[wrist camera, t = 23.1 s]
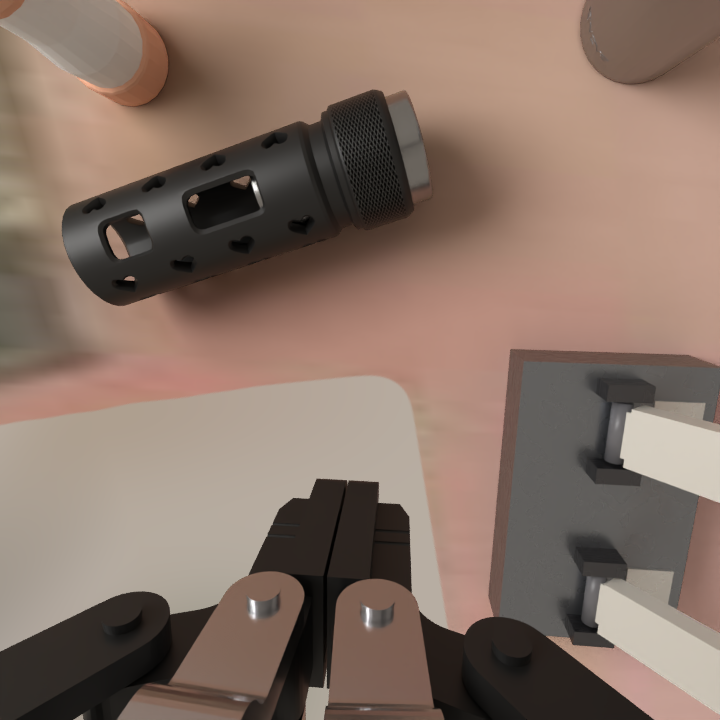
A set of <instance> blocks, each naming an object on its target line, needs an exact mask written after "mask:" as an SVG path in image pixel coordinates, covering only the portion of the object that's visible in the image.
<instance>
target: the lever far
mask: <svg viewBox="0 0 720 720" xmlns="http://www.w3.org/2000/svg"><path fill="white" fill-rule="evenodd" d="M581 620H582V622H583V623H584V624H585V625H587V626H589V627H593V628H597V627H598V632H597V633H598V634H599V635H601V636H602V637H604V638H605V639H607V640H608V641H610V642H611V643H613V644H614V645H616V646H617V647H619V648H620V649H622V650H623V651H625V652H626V653H628V654H629V655H631V656H632V657H634V658H635V659H637V660H638V661H640V662H641V663H643V664H644V665H646V666H647V667H649V668H650V669H652V670H653V671H655V672H656V673H658V674H659V675H660V676H662V677H663V678H665V679H666V680H668V681H669V682H671V683H672V684H674V685H675V686H677V687H678V688H680V689H681V690H683V691H684V692H686V693H687V694H689V695H690V696H692V697H693V698H695V699H696V700H698V701H699V702H701V703H702V704H704V705H705V706H707V707H708V708H710V709H711V710H713V711H714V712H716V713H717V714H719V715H720V633H719V632H717V631H715V630H713V629H712V628H710V627H708V626H706V625H704V624H702V623H701V622H699V621H697V620H695V619H693V618H692V617H690V616H688V615H686V614H684V613H683V612H681V611H679V610H677V609H675V608H674V607H672V606H670V605H668V604H666V603H664V602H663V601H661V600H659V599H657V598H655V597H654V596H652V595H650V594H648V593H646V592H645V591H643V590H641V589H639V588H637V587H635V586H634V585H632V584H630V583H628V582H626V581H625V580H623V579H621V578H613V579H612V580H610V581H608V580H607V577H592V576H587V579H586V586H585V593H584V600H583V607H582V615H581Z"/></svg>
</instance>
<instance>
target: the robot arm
mask: <svg viewBox="0 0 720 720" xmlns="http://www.w3.org/2000/svg"><path fill="white" fill-rule="evenodd" d="M580 26H581V41H582V45H583V49H584V51H585V54H586V56H587V58H588V60H589V61H590V63H591V64H592V65H593V67H594V68H595V69H596V70H597V71H598V72H600V73H601V74H602V75H603V76H605V77H607V78H609V79H611V80H613V81H616V82H621V83H626V84H633V83H642V82H646V81H650V80H653V79H655V78H657V77H659V76H661V75H663V74H665V73H666V72H668V71H669V70H671V69H672V68H674V67H675V66H677V65H678V64H680V63H681V62H683V61H684V60H686V59H687V58H689V57H690V56H692V55H693V54H695V53H696V52H698V51H699V50H701V49H702V48H704V47H705V46H707V45H708V44H710V43H711V42H713V41H714V40H716V39H717V38H719V37H720V0H586V3H585V5H584V8H583V12H582V17H581V22H580ZM378 498H379V482H367V481H349V482H348V486H347V480H332V479H331V480H330V479H317V480H316V482H315V485H314V487H313V490H312V493H311V495H310V498H309V499H301V498H293V499H292V500H290V501H289V502H288V503H286V504H285V505H284V506H283V507H282V508H280V509H279V511H278V513H277V515H276V517H275V519H274V522H273V525H272V526H271V528H270V531H269V532H268V536H267V537H266V539H265V541H264V543H263V545H262V547H261V549H260V551H259V554H258V556H257V558H256V560H255V562H254V564H253V566H252V569H251V571H250V573H249V575H248V576H246V577H244V578H242V579H240V580H238V581H237V582H235V583H234V584H233V585H232V586H231V587H230V588H229V589H228V590H227V591H226V593H225V594H224V596H223V598H222V599H221V601H220V602H219V604H217V605H214V606H211V607H208V608H205V609H200V610H195V611H189V612H183V613H177V614H171V615H170V608H169V605H168V603H167V601H166V600H165V599H164V598H163V597H162V596H159V595H158V594H155V593H151V592H130V593H126V594H121V595H118V596H115V597H113V598H110V599H108V600H106V601H104V602H102V603H100V604H98V605H95V606H94V607H91V608H89V609H87V610H85V611H83V612H81V613H79V614H77V615H75V616H73V617H71V618H69V619H67V620H65V621H62V622H60V623H58V624H56V625H54V626H52V627H50V628H48V629H46V630H44V631H42V632H40V633H38V634H36V635H34V636H32V637H30V638H27V639H25V640H23V641H21V642H19V643H17V644H15V645H13V646H11V647H9V648H7V649H5V650H3V651H1V652H0V720H73V719H75V718H77V717H78V716H80V715H81V714H83V719H84V720H306V712H305V711H306V708H305V707H306V705H305V704H306V698H307V693H308V688H309V687H319V688H323V687H324V681H325V676H326V670H327V688H328V689H330V690H329V701H328V706H326V709H325V715H324V720H654V719H652V718H651V717H650V716H649V715H647V714H646V713H645V712H643V711H642V710H641V709H639V708H638V707H637V706H636V705H634V704H633V703H632V702H630V701H629V700H628V699H626V698H625V697H624V696H623V695H621V694H620V693H619V692H617V691H616V690H615V689H613V688H612V687H611V686H610V685H608V684H607V683H606V682H604V681H603V680H602V679H600V678H599V677H598V676H597V675H595V674H594V673H593V672H591V671H590V670H589V669H588V668H586V667H585V666H584V665H582V664H581V663H580V662H578V661H577V660H576V659H575V658H573V657H572V656H571V655H569V654H568V653H567V652H565V651H564V650H563V649H562V648H560V647H559V646H558V645H556V644H555V643H554V642H552V641H551V640H550V639H549V638H547V637H546V636H545V635H543V634H542V633H541V632H539V631H538V630H536V629H535V628H534V627H532V626H530V625H528V624H526V623H524V622H521V621H519V620H515V619H511V618H506V617H489V618H485V619H481V620H479V621H477V622H475V623H474V624H473V625H471V627H470V628H469V629H468V630H467V632H466V634H465V635H463V634H460V633H457V632H454V631H451V630H448V629H446V628H443V627H440V626H439V625H437V624H435V623H433V622H431V621H430V620H429V619H427V618H426V617H425V616H424V615H423V614H422V613H421V612H420V611H419V607H418V604H417V601H416V599H415V597H414V596H413V595H412V589H411V561H410V560H411V557H410V530H409V529H410V527H409V516H408V515H407V513H406V512H405V511H404V509H403V508H402V507H401V505H400V504H386V503H378Z"/></svg>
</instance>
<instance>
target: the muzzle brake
mask: <svg viewBox="0 0 720 720" xmlns="http://www.w3.org/2000/svg"><path fill="white" fill-rule="evenodd" d="M244 176H250V180H249V182H248V183H247V186H243V185H241V184H238V183H235V182H233V180H236V179H239V178H241V177H244ZM194 194H197V195H198V196H199V197H198V199H197V201H196V204H193V203H191V202H188V200H189V198H190V197H191V196H193V195H194ZM432 196H433V188H432V180H431V174H430V169H429V164H428V159H427V155H426V151H425V146H424V142H423V138H422V134H421V131H420V127H419V124H418V120H417V117H416V114H415V111H414V108H413V105H412V102H411V99H410V97H409V95H408V94H407V92H406V91H400V92H398V93H395V94H392V95H389V96H387V97H384V94H383V92H382V91H378V90H370V91H367V92H365V93H362V94H359V95H357V96H354V97H351V98H349V99H346V100H343V101H340V102H338V103H335V104H332V105H330V106H328V108H327V111H324V112H322V114H321V121H319V122H317V123H314V124H311V125H308V124H306V123H304V122H300V121H299V122H296V123H293V124H290V125H288V126H285V127H282V128H280V129H277V130H274V131H271V132H269V133H266V134H263V135H261V136H258V137H255V138H252V139H250V140H247V141H244V142H242V143H239V144H236V145H233V146H231V147H228V148H225V149H223V150H220V151H217V152H214V153H212V154H209V155H206V156H204V157H201V158H198V159H195V160H193V161H190V162H187V163H185V164H182V165H179V166H176V167H174V168H171V169H168V170H166V171H163V172H160V173H157V174H155V175H152V176H149V177H147V178H144V179H141V180H138V181H136V182H133V183H130V184H128V185H125V186H122V187H119V188H117V189H114V190H111V191H108V192H106V193H103V194H100V195H98V196H95V197H92V198H89V199H87V200H84V201H81V202H79V203H76V204H73V205H71V206H70V207H68V208H67V209H66V211H65V213H64V215H63V220H62V237H63V242H64V246H65V249H66V252H67V255H68V257H69V259H70V261H71V263H72V265H73V267H74V269H75V271H76V272H77V274H78V275H79V277H80V278H81V280H82V281H83V282H84V283H85V285H86V286H87V287H88V288H89V289H90V290H91V291H92V292H93V293H94V294H96V295H97V296H98V297H100V298H101V299H102V300H104V301H106V302H108V303H110V304H113V305H117V306H125V305H128V304H131V303H134V302H137V301H140V300H143V299H146V298H149V297H152V296H155V295H157V294H161V293H164V292H168V291H171V290H174V289H177V288H180V287H183V286H186V285H189V284H192V283H195V282H198V281H201V280H204V279H207V278H209V277H213V276H216V275H219V274H222V273H226V272H229V271H232V270H235V269H238V268H241V267H244V266H247V265H250V264H253V263H256V262H259V261H261V260H263V259H268V258H271V257H274V256H277V255H281V254H284V253H287V252H290V251H293V250H296V249H299V248H302V247H305V246H308V245H311V244H313V243H315V242H320V241H323V240H326V239H329V238H332V237H335V236H337V235H338V234H340V232H341V229H342V228H343V227H346V226H349V225H352V224H354V225H355V226H356V227H357V228H358V229H361V228H364V229H365V230H369V229H372V228H375V227H378V226H381V225H384V224H387V223H390V222H393V221H396V220H399V219H402V218H406V217H408V216H409V215H410V214H411V213H412V212H413V211H414V204H417V203H420V202H423V201H426V200H429V199H431V198H432ZM138 214H140V215H141V216H142V218H143V220H144V222H143V221H140V220H136V219H133V218H131V217H132V216H135V215H138ZM109 225H111V226H112V227H113V229H114V230H115V231H116V232H117V234H118V235H119V237H120V238H121V240H122V242H123V243H124V245H125V247H126V250H127V252H128V255H129V258H126V259H121V260H120V259H118V258H117V257H116V256H115V255H114V253H113V251H112V249H111V247H110V244H109V241H108V238H107V235H106V229H107V228H108V226H109ZM128 276H133V277H135V281H127V280H124V279H125V278H126V277H128Z"/></svg>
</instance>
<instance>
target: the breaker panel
mask: <svg viewBox="0 0 720 720" xmlns="http://www.w3.org/2000/svg"><path fill="white" fill-rule="evenodd" d="M719 389H720V367H719V366H716V365H714V364H711V363H708V362H705V361H703V360H700V359H697V358H695V357H692V356H689V355H669V354H638V353H608V352H577V351H546V350H515V349H511V350H510V361H509V372H508V383H507V394H506V406H505V417H504V428H503V439H502V450H501V461H500V473H499V484H498V495H497V506H496V517H495V529H494V540H493V551H492V562H491V573H490V584H489V600H490V604H491V608H492V612H493V616H494V617H506V618H511V619H515V620H519V621H521V622H524V623H526V624H528V625H530V626H532V627H534V628H535V629H536V630H538V631H539V632H541V633H542V634H543V635H545V636H557V637H570V640H571V642H572V644H573V645H581V646H594V647H607V648H614V644H613V643H611V642H610V641H608V640H607V639H605V638H604V637H602V636H601V635H599V634H598V633H597V632H598V627H597V628H593V627H589V626H587V625H585V624H584V623H583V622H582V620H581V615H582V607H583V600H584V593H585V586H586V579H587V576H592V577H607V580H608V581H610V580H612V579H613V578H621V579H623V580H625V581H626V582H628V583H630V584H632V585H634V586H635V587H637V588H639V589H641V590H643V591H645V592H646V593H648V594H650V595H652V596H654V597H655V598H657V599H659V600H661V601H663V602H664V603H666V604H668V605H670V606H672V607H674V608H675V609H677V606H678V601H679V596H680V591H681V586H682V581H683V575H684V570H685V565H686V560H687V555H688V550H689V544H690V539H691V534H692V529H693V524H694V519H695V513H696V508H697V503H698V498H699V495H697V494H694V493H691V492H688V491H686V490H683V489H680V488H678V487H675V486H672V485H669V484H667V483H664V482H661V481H658V480H656V479H653V478H650V477H648V476H645V475H642V474H639V473H637V472H634V471H631V470H628V469H626V468H623V464H622V465H617V464H612V463H609V462H607V461H605V460H604V455H605V448H606V441H607V434H608V427H609V420H610V413H611V406H612V402H626V403H634V408H637V407H640V406H643V405H646V406H650V407H654V408H657V409H661V410H665V411H669V412H673V413H677V414H681V415H685V416H689V417H693V418H697V419H701V420H704V421H708V422H712V423H713V420H714V415H715V410H716V405H717V400H718V395H719ZM634 408H633V409H634Z"/></svg>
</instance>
